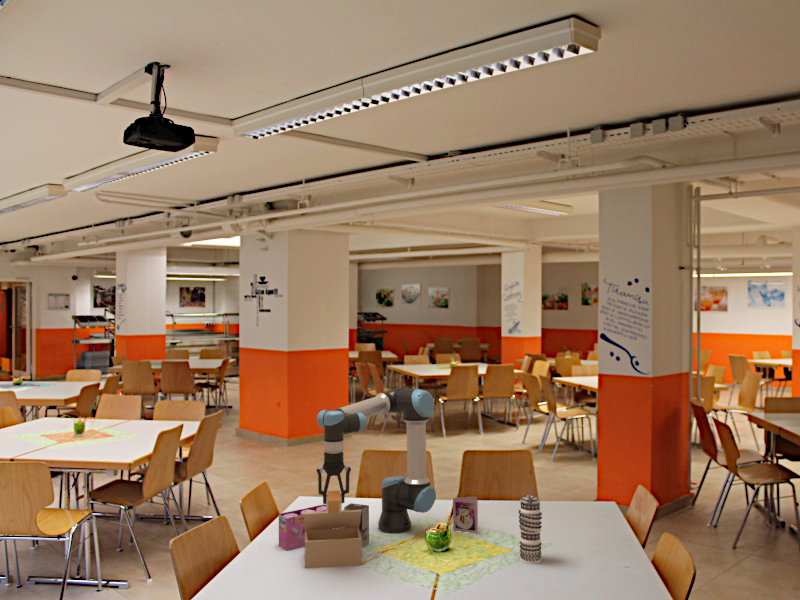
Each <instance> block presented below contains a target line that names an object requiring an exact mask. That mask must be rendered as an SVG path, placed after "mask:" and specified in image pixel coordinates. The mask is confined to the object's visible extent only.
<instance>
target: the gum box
mask: <svg viewBox="0 0 800 600" xmlns="http://www.w3.org/2000/svg"><path fill="white" fill-rule="evenodd" d="M319 511H326V504H321V505H315V506H310V507H307V508H306V507H305V508H300V509H296V510H292V511H287V512H282V513H281V512H280V513H278V547H280V548H281V547H282V549H283V550H285V551H291V550H296V549H299V548H302V547H304V548H305V530H304V523H305V512H319ZM331 529H333V528H331ZM312 530H314V529H312Z"/></svg>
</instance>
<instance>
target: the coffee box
mask: <svg viewBox="0 0 800 600" xmlns="http://www.w3.org/2000/svg"><path fill="white" fill-rule="evenodd" d="M369 509H370V506H369V505H367V504H359V503H349V504H347V505H346V506H344V508H343V510H362V512H361V518H360V524H359V530H360V534H361V538H362V548H364V547H366V546H367V545H369V544H370V513H369V512H370V511H369ZM350 528H352V527H350Z"/></svg>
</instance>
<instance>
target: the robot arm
mask: <svg viewBox="0 0 800 600" xmlns="http://www.w3.org/2000/svg"><path fill="white" fill-rule="evenodd" d="M434 408H435V402H434V398H433V396H432V394H430V392H429V391H427V390H425V389H420V388H409V387H408V388H406V387H397V388H393V389H388V390H386V391H382V392H379V393H377V394H376V395H375V396H374V397H371V398H367V399H364V400H361V401H358V402H354V403H351V404H348V405H344V406H342V407H338V408H335V409H331V410H329V409H323V410H321V411H319V412H318V414H317V417H316V423H317V425H318V426H319V428H323V450H324V453H323V465H322V466H321V467H317V468H316V473H317V477H318V478H317V481H318V482H317V483H318V486H317V487H318V490H317V492H318V495H319V496H320V495H321V496H322V505H326V513H328V491H329V490H328V489H329V486H330V481H331V477H337V482H338V485H339V488H340V490H339V491H340V506H339V512H340V513H342V510H343V509H342V508H343V506H342V505H343V504H344V503H345V496H346V494H349V493H350V475H351V470H352V468H351V466H347V465H345V463H344V435H348V434H354V433H359V432H362V431H364V430H366V428H367V424H368V421H367V418H370V417H373V416H376V415H378V414H382V415H386V414H390V413H391V414H393V413H394V414H400V415H402V421H403V422H404V423H405V424H406V463H407V465H406V467H407V468H406V469H407V470H406V472H407V476H405V475H395V476H388V477H385V478H384V479H383V480H382V481H381V513H380V516H379V519H378V521H377V522H378V523H377V525H378V526H377V529H378V530H379V531H381V532H384V533H387V534H402V533H406V532H409V531H410V530H411V529H412V522H411V519H410V516H409V513H408V512H409V511H408V510H410V511H414V512H416V513H423V514H424V513H427V512H429V511H430V510H431V509H432V508H433V506H434V504H435V502H436V498H437V496H436V495H437V493H436V490H435V488H434V487H433V486H431V480H430V478H429V477H428V476H427V431H426V430H427V429H426V427H427V426H426V425H427V424H426V423H427V422H428V421H429V419H430V416H431V415H432V414H433V411H434ZM323 470H324V471H325V473H326V479H325V482H324V483H325V484H324V487H323V485H322V480H323V479H322V477H323V475H322V473H323ZM343 470H344V472H345V489H344V486H343V481H342V476H341V473H343Z"/></svg>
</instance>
